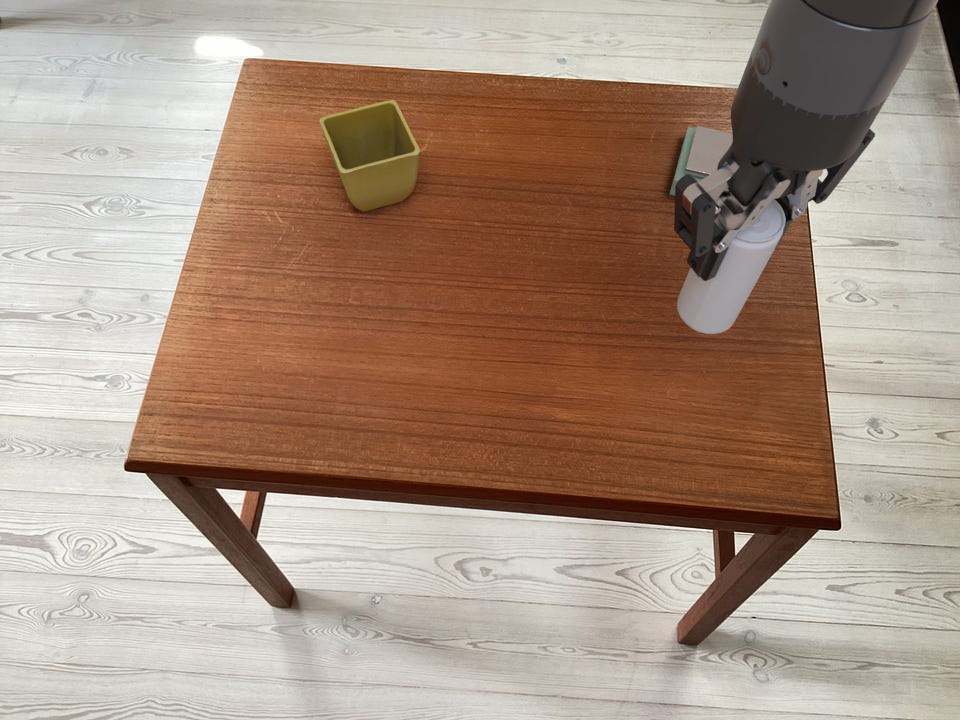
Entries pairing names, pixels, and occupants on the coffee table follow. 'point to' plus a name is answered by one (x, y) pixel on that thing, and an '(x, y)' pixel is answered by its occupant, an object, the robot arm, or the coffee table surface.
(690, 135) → the scale
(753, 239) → the beverage can
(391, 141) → the flower pot
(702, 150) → the scale pan
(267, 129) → the coffee table surface
